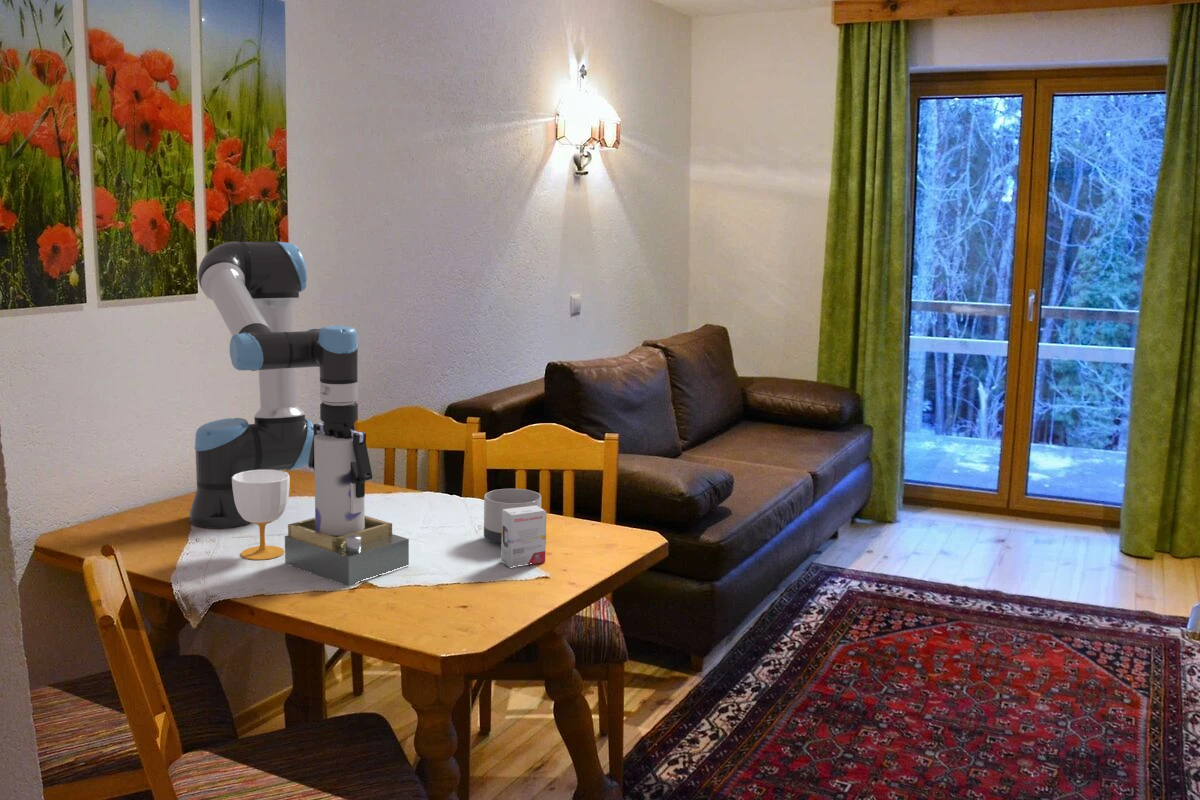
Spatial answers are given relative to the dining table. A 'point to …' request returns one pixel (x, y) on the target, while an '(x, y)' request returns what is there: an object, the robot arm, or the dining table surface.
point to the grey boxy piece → (346, 551)
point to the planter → (504, 500)
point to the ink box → (523, 535)
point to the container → (334, 486)
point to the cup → (261, 505)
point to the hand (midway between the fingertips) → (340, 507)
